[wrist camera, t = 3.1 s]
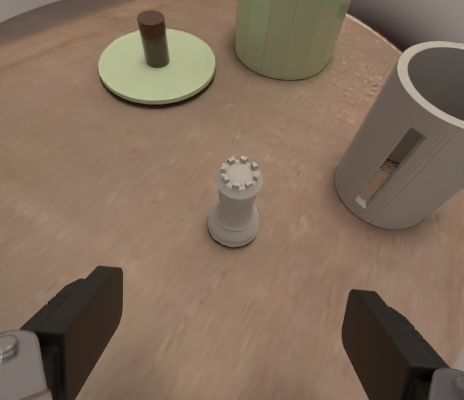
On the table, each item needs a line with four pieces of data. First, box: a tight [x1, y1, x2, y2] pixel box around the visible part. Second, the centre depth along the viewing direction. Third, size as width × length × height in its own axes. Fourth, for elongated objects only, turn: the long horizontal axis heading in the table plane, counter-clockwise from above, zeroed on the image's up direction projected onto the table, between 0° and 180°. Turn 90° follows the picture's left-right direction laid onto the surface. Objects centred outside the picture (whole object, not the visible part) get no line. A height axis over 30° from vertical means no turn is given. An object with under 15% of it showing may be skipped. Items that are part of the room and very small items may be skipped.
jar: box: [234, 0, 351, 80], centre depth 36 cm, size 13×13×10 cm
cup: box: [335, 41, 464, 229], centre depth 25 cm, size 9×9×12 cm
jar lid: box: [98, 10, 216, 104], centre depth 35 cm, size 14×14×6 cm
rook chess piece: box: [208, 156, 263, 247], centre depth 24 cm, size 4×4×8 cm
